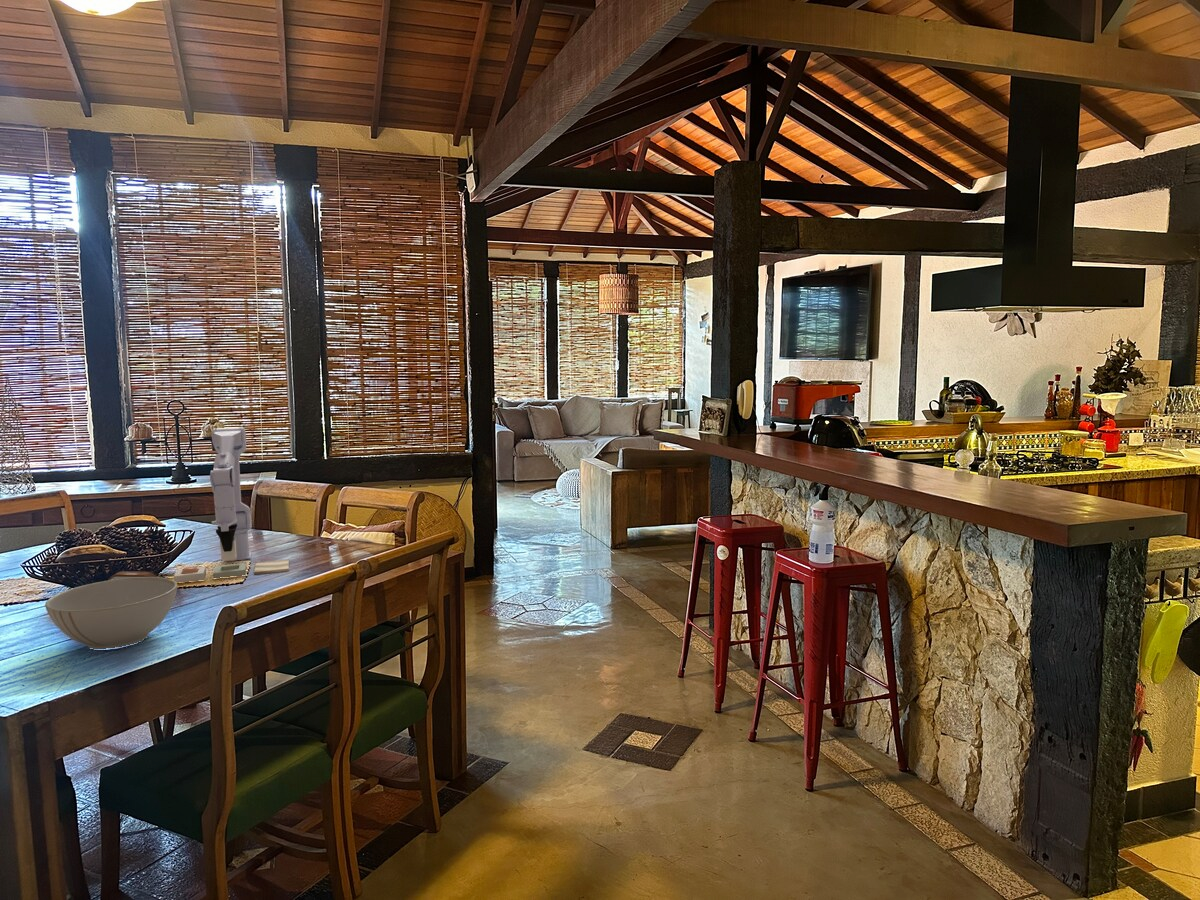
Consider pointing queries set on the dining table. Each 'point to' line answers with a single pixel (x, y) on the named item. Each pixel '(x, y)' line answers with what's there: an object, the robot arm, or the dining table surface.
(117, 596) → the decorative bowl
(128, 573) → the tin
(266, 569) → the birch board
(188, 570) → the plunger button
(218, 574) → the socket
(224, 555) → the cartridge
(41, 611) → the dining table surface
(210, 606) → the dining table surface
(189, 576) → the plunger housing
